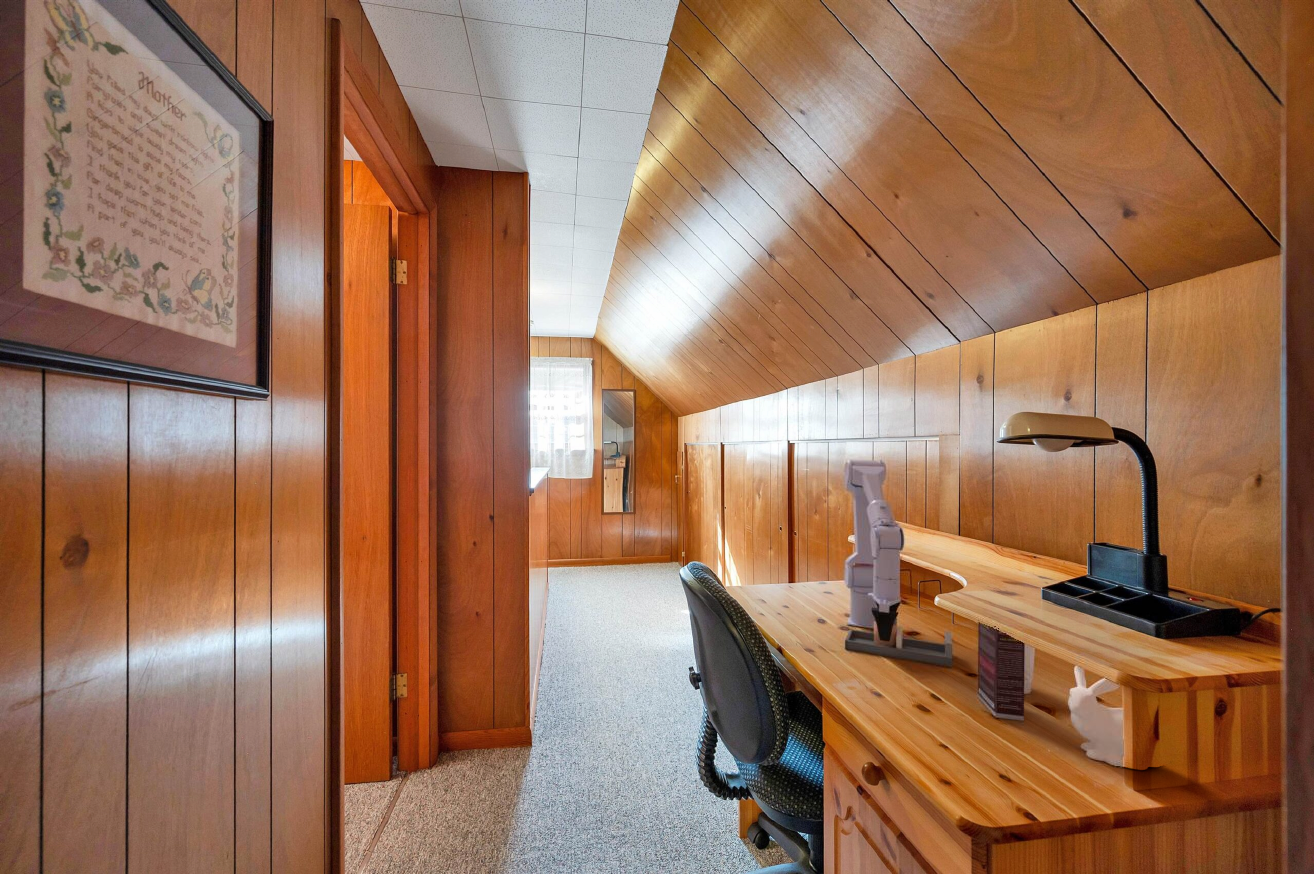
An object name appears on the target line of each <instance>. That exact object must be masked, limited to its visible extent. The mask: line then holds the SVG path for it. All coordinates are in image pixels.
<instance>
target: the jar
mask: <svg viewBox="0 0 1314 874" xmlns="http://www.w3.org/2000/svg"><path fill="white" fill-rule="evenodd" d="M897 629H898V617H896V619H895V621H894V624H893V628H892V634H891V638H890V641H889V642H888V641H882V640H880V639H879V635H878V629H877V624H876V621H875V618H874V629H873V633H874V644H875V645H881V646H887V647H893V648H896V635H897Z"/></svg>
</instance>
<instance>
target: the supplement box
mask: <svg viewBox="0 0 1314 874" xmlns="http://www.w3.org/2000/svg"><path fill="white" fill-rule="evenodd" d="M994 627H996V626H994ZM977 629H978V633H977V634H978V636H977V637H978V641H977V642H978V643H977V645H978V647H977V648H978V649H977V652H978V653H977V654H978V655H977V656H978V657H977V698H978V699H979V700H980V701H981V702H982V703H983V704H984V707H986V708H987V709H988V711H989V712H990V713H991V714H992V715H993V716H994V717H995V718H998V719H1003V720H1009V721H1010V720H1011V721H1022V722H1024V721H1025V694H1024V661H1025V643H1023V642H1021V641H1019V640H1016V639H1014V638H1013V637H1011V636H1009V635H1007V634H1006V633H1003V632H1001V631H999V630H997V629H994V628H993V627H990V626H987V625H985V624H982V623H980V622H978V628H977ZM998 629H999V628H998Z"/></svg>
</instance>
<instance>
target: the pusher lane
mask: <svg viewBox="0 0 1314 874" xmlns="http://www.w3.org/2000/svg"><path fill="white" fill-rule="evenodd" d="M844 649H845V650H848V651H855V652H859V653H860V652H861V653H867V654H871V653H872V655H878V656H883V657H890V658H895V659H900V660H906V661H911V662H917V661H918V662H919V663H924V664H930V665H936V666H940V667H941V666H942V667H947V668H953V639H952V632H951V631H948V630H944V643H940V642H935V641H934V642H933V641H928V640H927V641H926V640H920V639H915V638H909V637H903V639H902V649H899V648H893V647H887V646H881V645H875V644H874V632H871V631H864V630H859V629H858V630H857V629H852V628H851V629H849V631H848V633H847V635H846V637H845V640H844Z"/></svg>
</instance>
